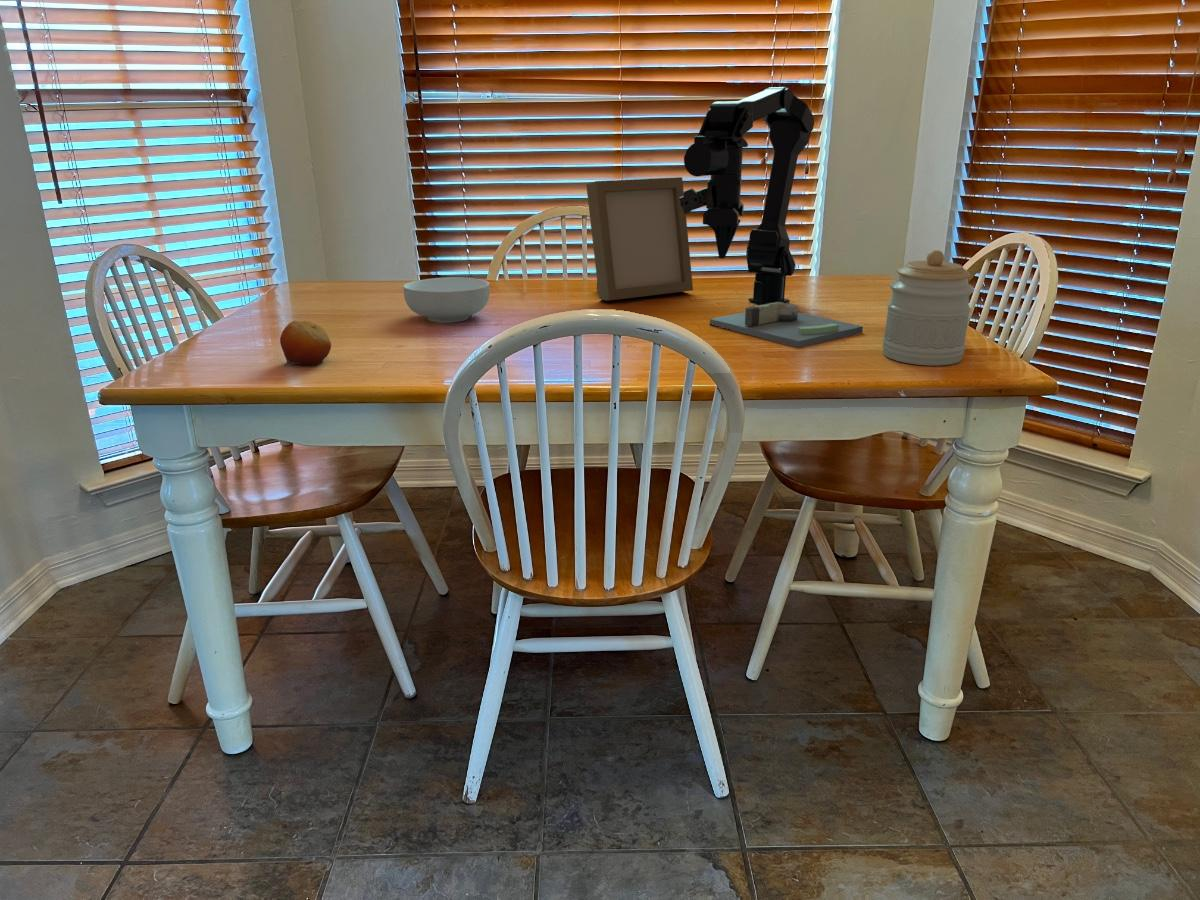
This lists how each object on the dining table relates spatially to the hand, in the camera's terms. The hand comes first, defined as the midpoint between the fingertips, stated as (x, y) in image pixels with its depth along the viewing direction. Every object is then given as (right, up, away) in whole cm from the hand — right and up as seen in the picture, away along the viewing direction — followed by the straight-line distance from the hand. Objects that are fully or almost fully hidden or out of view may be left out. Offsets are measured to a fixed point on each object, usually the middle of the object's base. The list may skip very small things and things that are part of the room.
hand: (721, 258), depth 167 cm
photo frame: (-16, -2, +28) cm, 33 cm away
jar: (+30, -22, -22) cm, 43 cm away
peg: (+9, -13, -3) cm, 16 cm away
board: (+11, -14, -3) cm, 18 cm away
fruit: (-72, -23, -24) cm, 79 cm away
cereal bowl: (-54, -11, +6) cm, 55 cm away
